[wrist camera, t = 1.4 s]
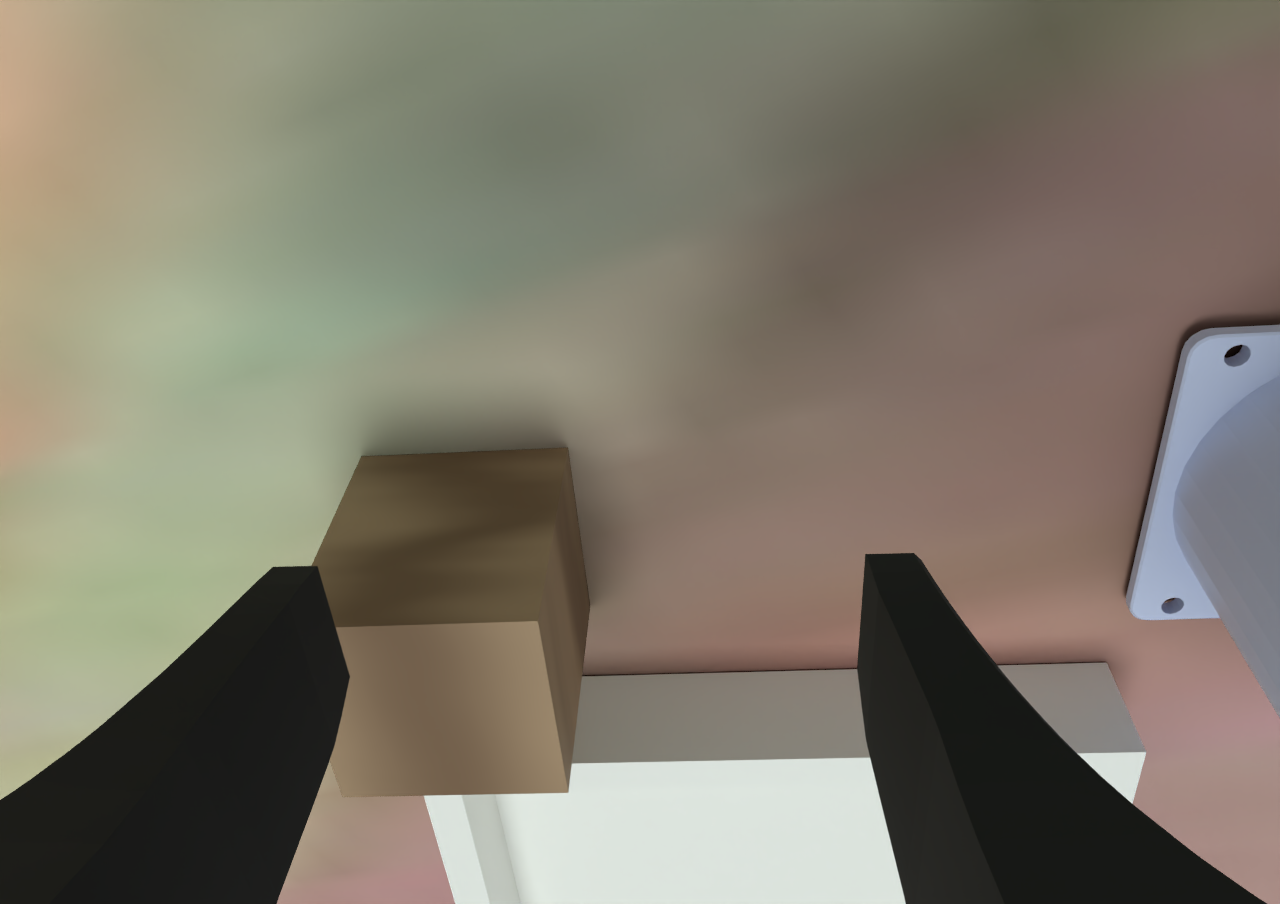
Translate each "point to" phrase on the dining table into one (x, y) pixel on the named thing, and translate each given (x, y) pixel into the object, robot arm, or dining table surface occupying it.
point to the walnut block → (458, 623)
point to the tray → (731, 792)
